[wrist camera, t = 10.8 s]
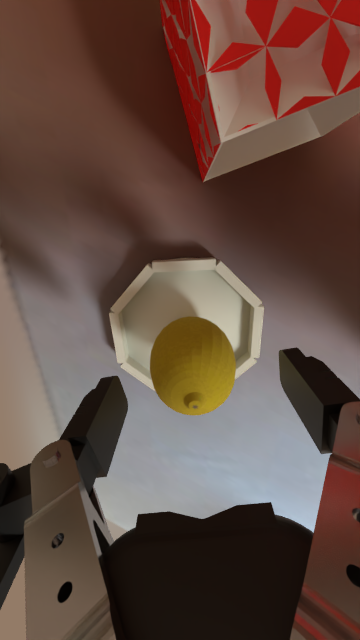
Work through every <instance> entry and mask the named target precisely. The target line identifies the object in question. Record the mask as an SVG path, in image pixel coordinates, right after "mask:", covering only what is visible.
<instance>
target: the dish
mask: <svg viewBox="0 0 360 640" xmlns="http://www.w3.org/2000/svg"><path fill="white" fill-rule="evenodd" d="M261 303H263V302H262V301H261V300H260V299H259V298H258V297H257V296H256V295H255V294H254V293H253V292H252V291H251V290H250V289H249V288H248V287H247V286H246V285H245V284H244V283H243V282H242V281H241V280H240V279H238V278H237V277H236V276H235V275H234V274H233V273H232V272H231V271H230V270H229V269H228V268H227V267H226V266H225V265H224V264H223V263H222V262H221V261H220V260H218V261H217V262H216V259H215V258H214V257H213V258H176V259H171V260H153V262H152V265H151V264H150V263H148V264H147V265H146V267H145V268H144V269H143V270H142V271H141V273H140V274H139V275H138V276H137V277H136V279H135V280H134V281H133V282H132V283H131V285H130V286H129V287H128V288H127V289H126V291H125V292H124V293H123V294H122V295H121V297H120V298H119V299H118V300H117V301H116V303H115V304H114V305H113V306H112V307H111V308H110V309H111V312H110V313H109V317H110V323H111V328H112V334H113V339H114V345H115V350H116V356H117V361H118V363H122V364H121V366H120V367H121V368H123V369H124V370H126V371H127V372H128V373H130V374H131V375H133V376H134V377H135V378H137V379H138V380H140V381H141V382H142V383H144V384H145V385H147V386H148V387H150V388H151V389H152V390H154V391H155V389H154V386H153V382H152V378H151V374H150V355H151V350H152V347H153V345H154V342H155V340H156V338H157V336H158V335H159V333H160V332H161V331H162V329H163V328H164V327H166V326H167V325H168V324H169V323H171V322H172V321H175V320H177V319H179V318H183V317H188V316H192V317H200V318H204V319H207V320H209V321H211V322H212V323H214V324H216V325H217V326H218V327H219V328H220V329H221V330H222V331H223V332H224V333H225V335H226V336H227V338H228V340H229V342H230V343H231V345H232V348H233V352H234V356H235V362H236V372H235V379H236V378H238V377H239V376H240V375H241V374H243V373H244V372H245V371H246V370H247V369H249V368H250V367H251V366H252V365H254V364H255V363H256V362H257V361H256V359H255V358H259V354H260V344H261V334H262V324H263V314H264V306H263V305H262V304H261ZM155 392H156V391H155Z"/></svg>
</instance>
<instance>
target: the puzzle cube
mask: <svg viewBox="0 0 360 640" xmlns="http://www.w3.org/2000/svg"><path fill="white" fill-rule="evenodd" d="M160 9H161V19H162V27H163V29H164V31H163V32H164V33H165V34H164V36H166V37H165V40H166V45H167V48H168V52H169V56H170V59H171V60H172V61H171V63H172V64H173V66H172V67H173V69H174V73H175V77H176V81H177V85H178V89H179V93H180V96H181V100H182V104H183V108H184V112H185V116H186V120H187V123H188V127H189V131H190V135H191V139H192V143H193V147H194V150H195V154H196V158H197V162H198V166H199V170H200V174H201V178H202V182H204V181H207V180H209V179H212V178H214V177H217V176H220V175H222V174H225V173H227V172H230V171H233V170H235V169H238V168H241V167H243V166H246V165H248V164H251V163H254V162H256V161H259V160H261V159H264V158H267V157H269V156H272V155H274V154H277V153H280V152H282V151H285V150H287V149H290V148H293V147H295V146H298V145H300V144H303V143H306V142H308V141H311V140H313V139H316V138H319V137H322V136H324V135H325V134H327V133H328V132H330V131H331V130H333V129H335V128H336V127H338V126H339V125H341V124H342V123H344V122H345V121H347V120H349V119H350V118H352V117H353V116H355V115H356V114H358V113H359V112H360V0H160Z"/></svg>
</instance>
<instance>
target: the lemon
mask: <svg viewBox="0 0 360 640" xmlns="http://www.w3.org/2000/svg"><path fill="white" fill-rule="evenodd" d="M235 372H236V362H235V356H234V352H233V348H232V345H231V343H230V342H229V340H228V338H227V336H226V335H225V333H224V332H223V331H222V330H221V329H220V328H219V327H218V326H217V325H216V324H214V323H212V322H211V321H209V320H207V319H204V318H200V317H192V316H188V317H183V318H179V319H177V320H175V321H172V322H171V323H169V324H168V325H167V326H166V327H164V328H163V329H162V331H161V332H160V333H159V335H158V336H157V338H156V340H155V342H154V345H153V347H152V350H151V355H150V374H151V378H152V382H153V386H154V389H155V391H156V393H157V394H158V396H159V398H160V399H161V400H162V401H163V402H164V403H165V404H166V405H167V406H168V407H170V408H171V409H173V410H175V411H176V412H179V413H182V414H187V415H201V414H205V413H208V412H211V411H213V410H215V409H216V408H217V407H219V406H220V405H221V404H223V403H224V401H225V400H226V399H227V398H228V396H229V395H230V392H231V390H232V388H233V385H234V381H235Z"/></svg>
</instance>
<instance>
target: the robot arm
mask: <svg viewBox="0 0 360 640" xmlns="http://www.w3.org/2000/svg"><path fill="white" fill-rule="evenodd" d="M279 367H280V381H281V384H282V387H283V390H284V391H285V393H286V395H287V397H288V398H289V400H290V402H291V403H292V405H293V407H294V409H295V410H296V412H297V414H298V415H299V417H300V419H301V420H302V422H303V424H304V426H305V427H306V429H307V431H308V432H309V434H310V436H311V438H312V439H313V441H314V443H315V444H316V446H317V448H318V450H319V451H320V453H321V454H326V453H332V454H331V455H330V458H329V462H328V467H327V472H326V476H325V481H324V486H323V491H322V496H321V501H320V505H319V510H318V515H317V520H316V525H315V530H314V533H313V532H312V531H310V530H309V529H307V528H306V527H304V526H302V525H301V524H299V523H297V522H295V521H293V520H291V519H288V518H285V517H282V516H278V515H275V514H274V511H273V508H272V504H271V502H269V503H258V504H247V505H237V506H234V507H232V508H229V509H227V510H225V511H222V512H220V513H217V514H215V515H213V516H210V517H208V518H205V519H199V518H194V517H190V516H186V515H182V514H177V513H173V512H159V513H148V514H138V517H137V523H136V527H135V528H133V529H131V530H130V531H128V532H126V533H125V534H123V535H122V536H121V537H119V538H118V539H117V540H116V541H114V540H113V538H112V536H111V534H110V531H109V529H108V526H107V523H106V520H105V517H104V514H103V511H102V508H101V505H100V502H99V499H98V496H97V493H96V490H95V488H94V486H93V485H94V482H95V479H96V478H98V477H107V474H108V471H109V467H110V464H111V461H112V458H113V455H114V452H115V449H116V445H117V442H118V439H119V436H120V433H121V430H122V427H123V423H124V420H125V417H126V414H127V410H128V402H127V398H126V395H125V393H124V390H123V387H122V385H121V382H120V379H119V377H118V376H111V377H105V378H101V379H100V381H99V383H98V385H97V386H96V388H95V389H92V390H91V391H90V392H89V393H88V394H87V395H86V396H85V397H84V399H83V400H82V402H81V404H80V405H79V407H78V409H77V410H76V412H75V415H73V417H72V419H71V421H70V422H69V424H68V426H67V427H66V429H65V431H64V432H63V434H62V436H61V437H60V439H59V440H58V441H55V442H53V443H51V444H49V445H47V446H46V447H44V448H43V449H42V450H41V451H40V452H39V453H38V454H37V455H36V456H35V458H34V459H33V461H32V463H30V464H28V465H26V466H23V467H21V468H19V469H16V470H13V471H11V470H10V469H9V467H8V466H7V465H6V464H4V463H0V609H1V607H2V605H3V602H4V600H5V598H6V596H7V594H8V592H9V589H10V587H11V585H12V583H13V580H14V578H15V576H16V574H17V572H18V569H19V567H20V565H21V563H22V560H23V558H24V556H25V597H26V599H25V601H26V640H360V399H359V398H358V397H357V396H356V395H355V394H354V393H353V392H352V391H351V390H350V389H349V388H348V387H347V386H346V385H345V384H344V383H343V382H342V381H341V380H340V379H339V378H337V376H336V375H335V374H334V373H333V372H332V371H331V370H330V369H329V368H328V367H327V366H326V365H325V364H324V363H323V362H322V361H320V360H318V359H316V358H314V357H312V356H311V357H305V355H304V354H303V353H302V352H301V351H300V350H299V349H298V348H291V349H284V350H280V351H279Z"/></svg>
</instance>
